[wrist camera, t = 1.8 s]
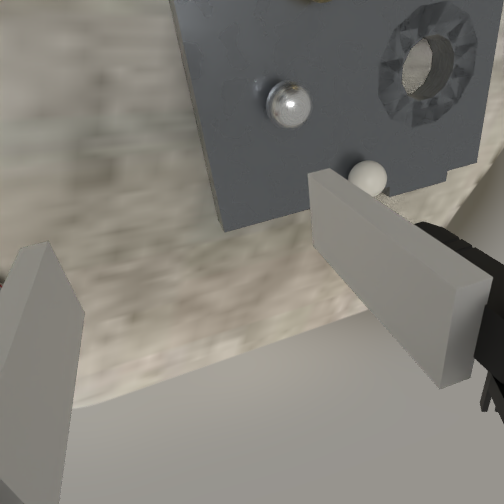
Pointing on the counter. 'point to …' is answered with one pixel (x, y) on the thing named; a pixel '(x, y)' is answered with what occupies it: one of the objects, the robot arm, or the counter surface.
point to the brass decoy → (321, 1)
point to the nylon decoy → (368, 177)
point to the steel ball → (289, 104)
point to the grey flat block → (332, 93)
